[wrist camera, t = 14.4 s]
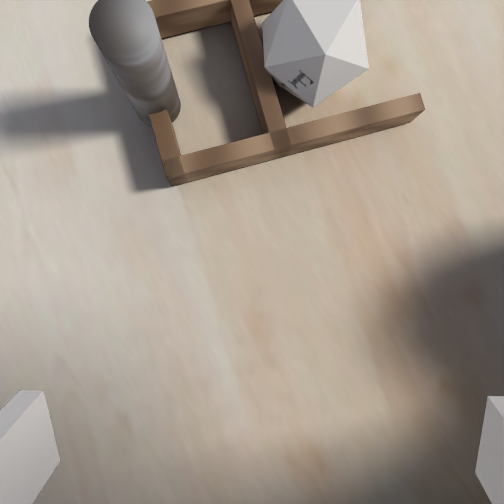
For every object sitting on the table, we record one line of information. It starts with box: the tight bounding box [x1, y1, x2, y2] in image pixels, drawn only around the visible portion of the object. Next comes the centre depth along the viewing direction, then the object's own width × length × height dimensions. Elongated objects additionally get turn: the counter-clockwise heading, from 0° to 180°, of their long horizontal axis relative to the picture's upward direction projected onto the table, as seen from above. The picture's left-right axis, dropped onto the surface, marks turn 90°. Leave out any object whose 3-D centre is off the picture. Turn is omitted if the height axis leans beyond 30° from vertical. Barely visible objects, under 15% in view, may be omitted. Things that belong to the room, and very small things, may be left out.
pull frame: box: [89, 0, 425, 186], centre depth 31 cm, size 24×15×12 cm, turn 106°
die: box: [262, 0, 369, 107], centre depth 34 cm, size 8×9×10 cm
